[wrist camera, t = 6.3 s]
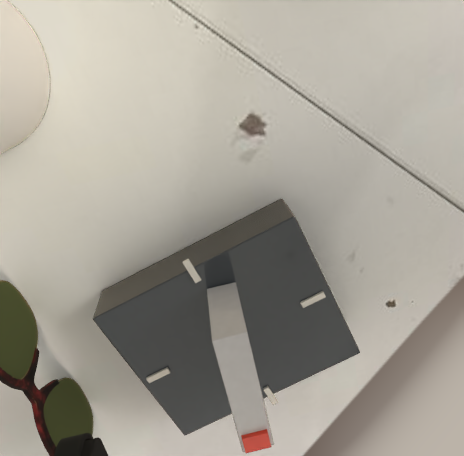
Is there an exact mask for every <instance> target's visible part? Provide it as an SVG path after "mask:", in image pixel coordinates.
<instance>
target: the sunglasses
mask: <svg viewBox="0 0 464 456" xmlns="http://www.w3.org/2000/svg"><path fill="white" fill-rule="evenodd" d="M37 343H38V329H37V324H36V320H35V317H34V315H33V312H32V310H31V308H30V307H29V305H28V303H27V302H26V300H25V299H24V297H23V296H22V295H21V293H20V292H19V291H18V290H17V289H16V288H15V287H14V286H13V285H12V284H11V283H9V282H7V281H3V280H1V281H0V381H1V382H2V383H4V384H5V385H7V386H9V387H11V388H14V389H18V390H22V391H23V392H24V394H25V395H26V397H27V398H28V399H29V401H30V402H31V404H32V408H33V413H34V419H35V423H36V427H37V430H38V433H39V435H40V438H41V440H42V442H43V444H44V446H45V448H46V450H47V452H48V453H49V455H50V456H54V454H55V450H56V447H57V445H58V443H59V441H60V440H61V439H63V438H67V437H71V436H76V435H80V434H84V433H90V434H91V435H92V434H93V414H92V410H91V407H90V405H89V402H88V400H87V398H86V396H85V394H84V392H83V391H82V389H81V388H80V386H79V385H78V384H77V383H76V382H75V381H74V380H73V379H71V378H63V379H60V380H59V381H58V379H56V380H53V381H51V382H49V383H48V384H47V385H45V386H44V387H42V388H41V389H40V390H38V389H37V387H36V386H35V384H34V375H35V372H36V368H37V363H38V357H39V350H38V349H37Z"/></svg>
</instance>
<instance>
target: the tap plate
mask: <svg viewBox="0 0 464 456" xmlns="http://www.w3.org/2000/svg"><path fill="white" fill-rule="evenodd" d="M234 282H236V285H237V289H238V294H239V298H240V302H241V306H242V311H243V315H244V319H245V323H246V327H247V332H248V336H249V340H250V344H251V349H252V353H253V357H254V361H255V366H256V370H257V374H258V378H259V383H260V387H261V391H262V395H263V398H266V397H268V398H269V400H270V401H271V403H272V404H273V405H274V404H276V403H278V401H277V399H276V397H275V396H274V393H276V392H278V391H280V390H282V389H285V388H287V387H289V386H291V385H293V384H295V383H297V382H299V381H301V380H304V379H306V378H308V377H310V376H312V375H314V374H316V373H318V372H320V371H323V370H325V369H327V368H329V367H331V366H333V365H335V364H337V363H340V362H342V361H344V360H346V359H348V358H350V357H352V356H354V355H356V354H359V353H360V350H359V348H358V346H357V344H356V342H355V340H354V338H353V336H352V334H351V332H350V330H349V328H348V326H347V323H346V321H345V319H344V317H343V315H342V313H341V311H340V309H339V307H338V305H337V303H336V301H335V299H334V296H333V294H332V292H331V290H330V288H329V286H328V284H327V282H326V280H325V278H324V276H323V274H322V272H321V269H320V267H319V265H318V263H317V261H316V259H315V257H314V255H313V253H312V251H311V249H310V247H309V245H308V242H307V240H306V238H305V236H304V234H303V232H302V230H301V228H300V226H299V224H298V222H297V220H296V218H295V216H294V214H293V213H292V212H291V210H290V209H289V207H288V206H287V204H286V203H285V202H284V200H283V199H280V200H278V201H276V202H274V203H272V204H270V205H268V206H266V207H264V208H263V209H261V210H259V211H257V212H255V213H253V214H251V215H249V216H247V217H245V218H243V219H241V220H239V221H237V222H235V223H233V224H231V225H229V226H228V227H226V228H224V229H222V230H220V231H218V232H216V233H214V234H212V235H210V236H208V237H206V238H204V239H202V240H200V241H198V242H196V243H194V244H193V245H191V246H189V247H187V248H185V249H183V250H181V251H179V252H177V253H175V254H173V255H171V256H169V257H167V258H165V259H163V260H161V261H159V262H158V263H156V264H154V265H152V266H150V267H148V268H146V269H144V270H142V271H140V272H138V273H136V274H134V275H132V276H130V277H128V278H126V279H124V280H123V281H121V282H119V283H117V284H115V285H113V286H111V287H109V288H107V289H105V290H103V291H102V293H101V296H100V299H99V302H98V305H97V308H96V311H95V314H94V317H93V320H94V321H95V323H96V324H97V325H98V327H99V328H100V329H101V330H102V332H103V333H104V334H105V335H106V337H107V338H108V339H109V340H110V342H111V343H112V344H113V346H114V347H115V348H116V349H117V351H118V352H119V353H120V354H121V356H122V357H123V358H124V359H125V361H126V362H127V363H128V365H129V366H130V367H131V368H132V370H133V371H134V372H135V373H136V375H137V376H138V377H139V378H140V380H141V381H142V382H143V384H144V385H145V386H146V387H147V389H148V390H149V391H150V392H151V394H152V395H153V396H154V397H155V399H156V400H157V401H158V402H159V404H160V405H161V406H162V408H163V409H164V410H165V411H166V413H167V414H168V415H169V416H170V418H171V419H172V420H173V421H174V423H175V424H176V425H177V427H178V428H179V429H180V430H181V432H182V433H183V434H184V435H187V434H189V433H192V432H194V431H196V430H198V429H200V428H202V427H204V426H206V425H208V424H211V423H213V422H215V421H217V420H219V419H221V418H223V417H225V416H227V415H230V414H232V412H231V408H230V404H229V401H228V397H227V394H226V390H225V387H224V383H223V379H222V376H221V372H220V369H219V365H218V361H217V358H216V354H215V351H214V347H213V344H212V338H211V328H210V318H209V308H208V298H207V289H209V288H213V287H217V286H221V285H225V284H230V283H234Z"/></svg>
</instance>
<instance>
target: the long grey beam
mask: <svg viewBox="0 0 464 456" xmlns="http://www.w3.org/2000/svg"><path fill="white" fill-rule="evenodd" d="M207 298H208V308H209V318H210V328H211V338H212V344H213V347H214V351H215V354H216V358H217V361H218V365H219V369H220V372H221V376H222V379H223V383H224V387H225V390H226V394H227V397H228V401H229V404H230V408H231V412H232V415H233V419H234V422H235V426H236V429H237V433H238V437H239V440H240V444H241V447H242V451H243V452H245V453H249V452H253V451H257V450H261V449H265V448H269V447H271V445H274V442H273V438H272V434H271V430H270V425H269V421H268V417H267V412H266V408H265V404H264V400H263V395H262V391H261V387H260V383H259V378H258V374H257V370H256V366H255V361H254V357H253V353H252V349H251V344H250V340H249V336H248V332H247V327H246V323H245V319H244V315H243V311H242V306H241V302H240V298H239V294H238V289H237V285H236V282H234V283H230V284H225V285H221V286H217V287H213V288H209V289H207Z"/></svg>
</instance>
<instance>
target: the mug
mask: <svg viewBox="0 0 464 456" xmlns="http://www.w3.org/2000/svg"><path fill="white" fill-rule="evenodd" d="M49 94H50V74H49V68H48V63H47V59H46V56H45V53H44V50H43V48H42V45H41V43H40V41H39V39H38V37H37V35H36V34H35V32H34V30H33V29H32V27H31V26H30V24H29V23H28V22H27V20H26V19H25V18H24V17H23V15H22V14H21V13H20V12H19V11H18V10H17V9H16V8H15V7H14V6H13V5H12V4H11V3H10V2H8V1H7V0H0V154H2V153H4V152H6V151H7V150H9V149H11V148H13V147H15V146H17V145H18V144H20V143H21V142H23V141H24V140H25V139H27V138H28V137H29V136H30V135H31V134H32V133H33V132H34V130H35V129H36V128H37V126H38V125H39V123H40V122H41V120H42V118H43V116H44V114H45V111H46V108H47V105H48V101H49Z"/></svg>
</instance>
